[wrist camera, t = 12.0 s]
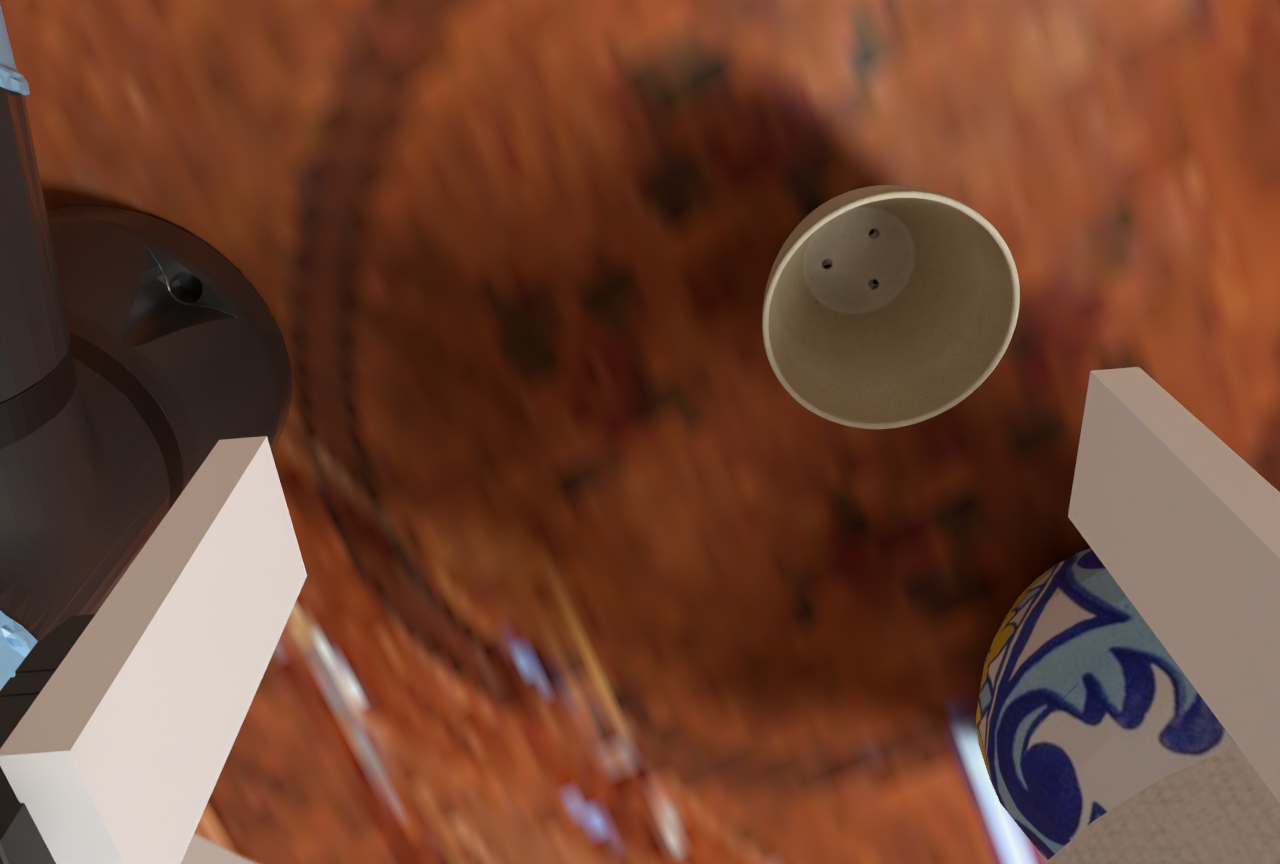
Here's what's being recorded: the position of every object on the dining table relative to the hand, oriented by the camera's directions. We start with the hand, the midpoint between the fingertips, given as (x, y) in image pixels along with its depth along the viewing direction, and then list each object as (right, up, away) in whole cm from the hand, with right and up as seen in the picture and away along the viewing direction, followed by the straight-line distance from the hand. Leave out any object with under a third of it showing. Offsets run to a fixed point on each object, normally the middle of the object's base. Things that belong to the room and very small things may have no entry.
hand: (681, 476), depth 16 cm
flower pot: (+9, +9, +29) cm, 32 cm away
